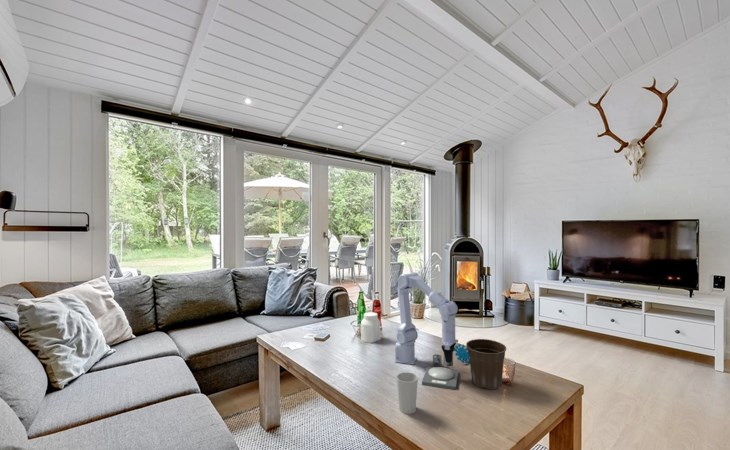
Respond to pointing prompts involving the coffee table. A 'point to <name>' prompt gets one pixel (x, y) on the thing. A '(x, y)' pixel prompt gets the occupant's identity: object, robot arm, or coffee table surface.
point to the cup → (407, 392)
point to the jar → (370, 328)
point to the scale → (440, 377)
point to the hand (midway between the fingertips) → (449, 360)
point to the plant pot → (486, 362)
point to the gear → (462, 353)
